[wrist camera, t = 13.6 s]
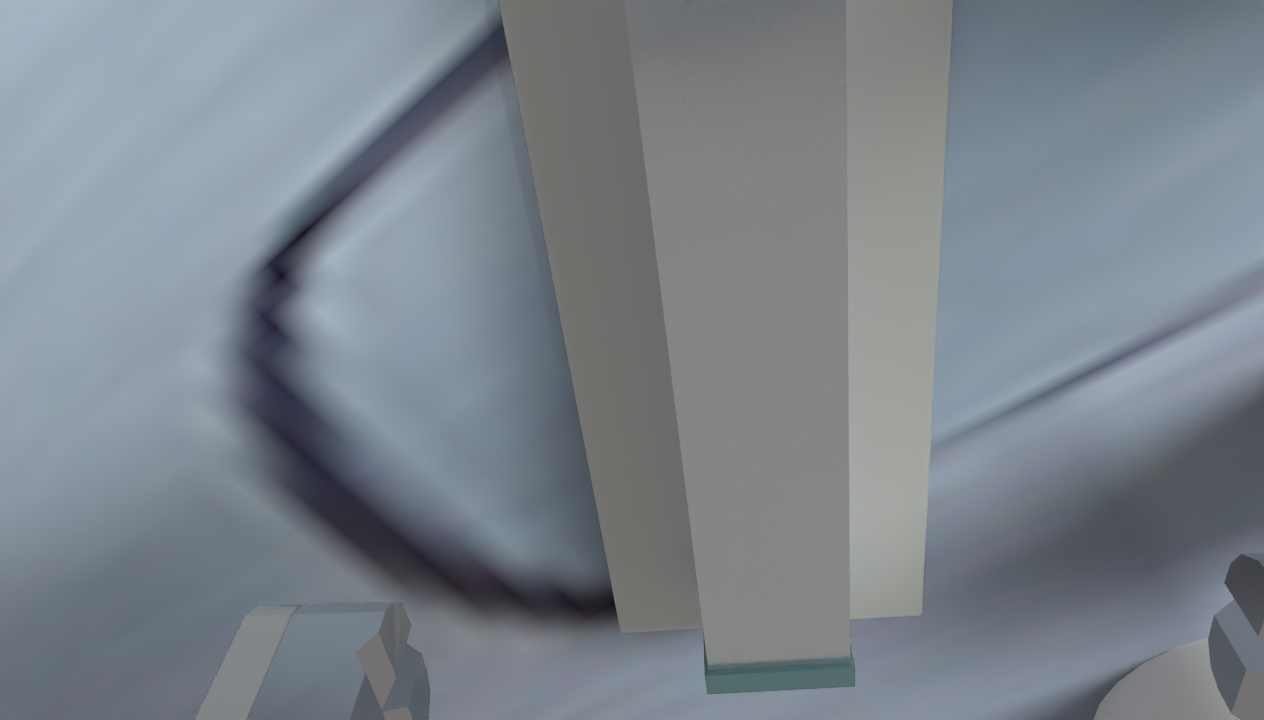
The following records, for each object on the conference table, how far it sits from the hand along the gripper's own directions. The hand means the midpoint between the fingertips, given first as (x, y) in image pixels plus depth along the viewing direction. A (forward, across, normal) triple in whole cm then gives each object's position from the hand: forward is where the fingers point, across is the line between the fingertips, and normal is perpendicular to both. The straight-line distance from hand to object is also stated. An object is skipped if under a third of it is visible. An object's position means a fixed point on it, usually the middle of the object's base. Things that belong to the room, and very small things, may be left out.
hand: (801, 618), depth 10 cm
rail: (+15, 0, +1) cm, 16 cm away
